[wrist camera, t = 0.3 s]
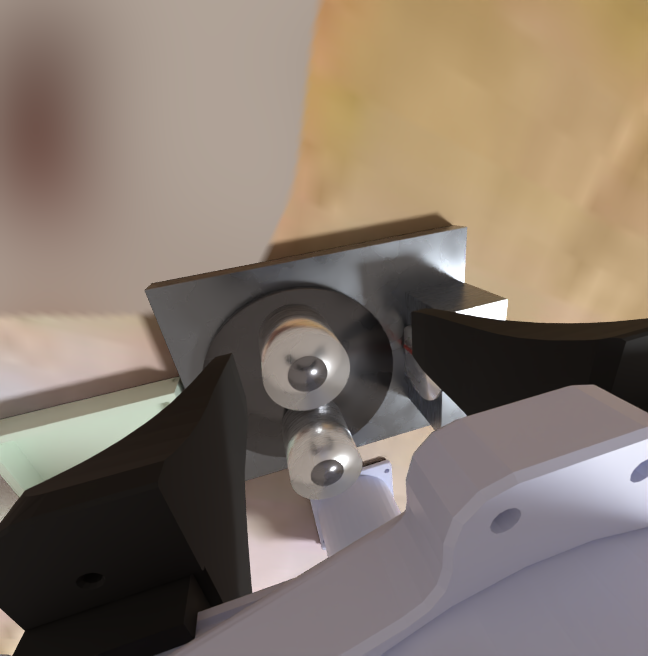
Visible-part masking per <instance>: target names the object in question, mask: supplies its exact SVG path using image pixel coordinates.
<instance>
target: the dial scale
mask: <svg viewBox="0 0 648 656" xmlns="http://www.w3.org/2000/svg"><path fill="white" fill-rule="evenodd" d="M466 239H467V227H463V226H455V225H452V226H446V227H441V228H436V229H431V230H426V231H421V232H415V233H410V234H405V235H400V236H395V237H389V238H384V239H379V240H374V241H369V242H364V243H358V244H353V245H348V246H343V247H338V248H333V249H327V250H322V251H317V252H312V253H307V254H301V255H296V256H291V257H286V258H281V259H276V260H270V261H265V262H260V263H255V264H250V265H245V266H239V267H235V268H229V269H224V270H219V271H213V272H208V273H203V274H198V275H193V276H188V277H182V278H177V279H172V280H167V281H162V282H157V283H152V284H151V285H150V286H149V287H147V289H145V292H146V295H147V297H148V300H149V302H150V305H151V307H152V310H153V312H154V315H155V317H156V319H157V322H158V324H159V327H160V329H161V332H162V334H163V337H164V339H165V341H166V344H167V346H168V349H169V351H170V354H171V356H172V358H173V361H174V363H175V366H176V368H177V371H178V373H179V376H180V378H181V380H182V383H183V385H184V388H185V389H186V388H187V387H188V386H189V385H190V384H191V383H192V382H193V380H194V379H195V378H196V377H197V376H198V375H199V374H200V373H201V372H202V371H203V370H204V368H205V367H206V366H207V365H208V364H209V363H210V362H211V361H212V360H213V359H214V358H215V357H216V356H221V355H225V354H230V353H233V356H234V360H235V363H236V366H237V370H238V373H239V376H240V379H241V383H242V386H243V389H244V393H245V396H246V403H247V415H248V428H247V446H246V462H245V481H247V480H250V479H253V478H257V477H260V476H263V475H267V474H270V473H273V472H277V471H280V470H283V469H286V468H288V463H287V457H286V451H285V445H284V439H283V432H282V420H283V417H284V415H285V414H286V412H287V411H288V410H289V409H287V408H285V407H282V406H280V405H278V404H277V403H276V402H274V401H273V400H272V399H271V398H270V396H269V395H268V394H267V392H266V390H265V387H264V384H263V378H262V368H261V358H260V348H259V331H260V328H261V325H262V323H263V321H264V320H265V318H266V317H267V316H268V315H269V314H270V313H271V312H273V311H274V310H275V309H277V308H279V307H281V306H284V305H288V304H304V305H307V306H310V307H312V308H314V309H316V310H317V311H318V312H319V313H320V314H321V315H322V316H323V317H324V319H325V320H326V322H327V323H328V325H329V326H330V328H331V329H332V331H333V332H334V334H335V336H336V337H337V339H338V340H339V342H340V343H341V345H342V346H343V348H344V349H345V351H346V353H347V355H348V357H349V362H350V373H349V378H348V380H347V383H346V385H345V387H344V388H343V390H342V391H341V392H340V393H339V395H338V396H336V397H335V398H334V399H333V400H332V401H333V402H334V403H335V404H336V405H337V406H338V407H339V409H340V411H341V414H342V416H343V418H344V420H345V422H346V425H347V427H348V429H349V431H350V434H351V436H352V438H353V440H354V442H355V445H356V447H359V446H363V445H366V444H369V443H373V442H376V441H379V440H382V439H386V438H389V437H392V436H396V435H399V434H402V433H406V432H409V431H412V430H416V429H419V428H422V427H425V426H429V425H431V426H432V427H433V428H434V430H437V429H439V428H441V427H443V426H445V425H447V424H449V423H451V422H453V421H454V420H456V419H460V418H463V417H466V416H467V415H466V414H465V413H464V412H463V411H462V410H461V409H460V408H459V407H458V406H457V405H456V404H455V403H454V402H453V401H452V400H451V399H450V398H449V397H448V396H447V395H446V394H445V393H444V392H443V391H442V390H441V389H440V388H439V387H438V386H437V385H436V384H435V383H434V382H433V381H432V380H431V379H430V378H429V377H428V376H427V375H426V374H425V372H424V371H423V370H422V368H421V367H420V366H419V364H418V363H417V362H416V360H415V359H414V357H413V356H412V326H411V312H412V311H416V310H420V309H425V308H427V309H439V310H445V311H451V312H457V313H462V314H468V315H474V316H480V317H486V318H493V319H500V320H505V319H506V310H507V302H508V299H506V298H503V297H500V296H498V295H495V294H493V293H490V292H487V291H485V290H482V289H480V288H477V287H474V286H472V285H469V284H467V283H464V277H465V258H466Z"/></svg>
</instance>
